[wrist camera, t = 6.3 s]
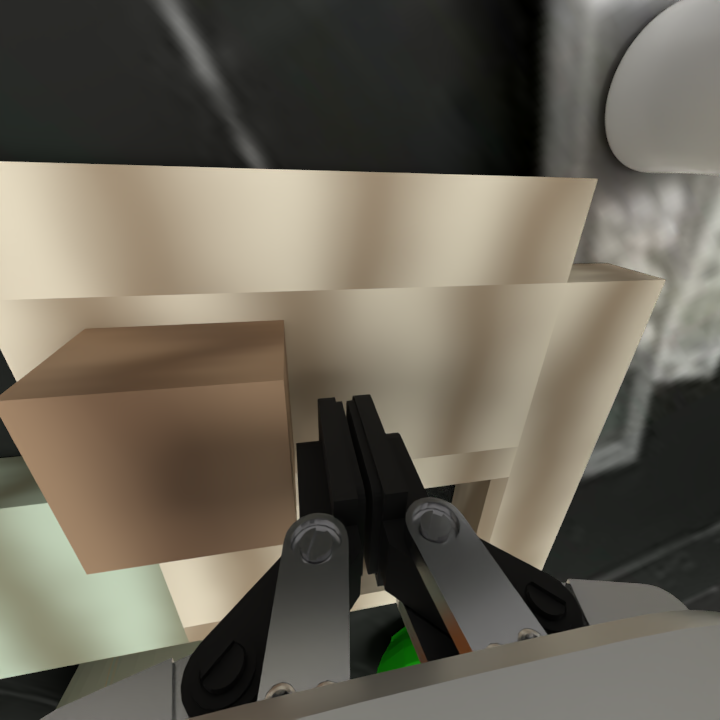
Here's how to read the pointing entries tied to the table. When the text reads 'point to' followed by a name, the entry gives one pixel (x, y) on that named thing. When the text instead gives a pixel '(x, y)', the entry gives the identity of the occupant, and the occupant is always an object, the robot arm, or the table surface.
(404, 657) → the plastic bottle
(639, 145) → the drinking glass
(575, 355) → the board
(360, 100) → the table surface
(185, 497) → the block
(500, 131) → the table surface
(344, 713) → the robot arm
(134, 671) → the reusable coffee cup
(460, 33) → the table surface
